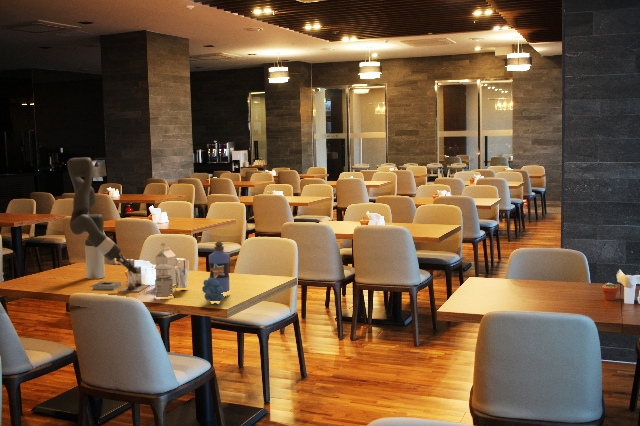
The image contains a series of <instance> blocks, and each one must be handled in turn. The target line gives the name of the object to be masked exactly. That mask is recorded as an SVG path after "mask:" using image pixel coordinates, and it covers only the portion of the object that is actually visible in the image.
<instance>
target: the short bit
mask: <svg viewBox="0 0 640 426" xmlns="http://www.w3.org/2000/svg"><path fill="white" fill-rule="evenodd" d="M135 269H136V270H137V272H136V273H135V286H142V284H143V282H142V279H143V277H142V266H135Z"/></svg>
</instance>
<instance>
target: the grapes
mask: <svg viewBox="0 0 640 426" xmlns="http://www.w3.org/2000/svg"><path fill="white" fill-rule="evenodd" d="M201 291H202V292H203V293H204V299H205V300H206V301H220V300H221V302H222V301H223V300H224V299H225V297H224V296H223V294H221V293H223V288H222V287H221V286H219V281H218V280H214V279H213V278H211V277H210V276H209V277H208V278H207V279H204V280H203V286H202V288H201Z"/></svg>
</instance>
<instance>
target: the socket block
mask: <svg viewBox="0 0 640 426" xmlns="http://www.w3.org/2000/svg"><path fill="white" fill-rule="evenodd" d="M92 285H93V287H92V290H93V291H95V290H96V291H97V290H98V291H114V290H116V289H119V288H120V287H121V286H122V281H107V280H106V281H103V280H102V281H99V282H97V283H94V284H92Z"/></svg>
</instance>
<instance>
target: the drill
mask: <svg viewBox="0 0 640 426" xmlns="http://www.w3.org/2000/svg"><path fill="white" fill-rule="evenodd" d="M127 260H128V261H129V263H130V264H131V265H132V266H133V267H134V268H135V267H136V266H135V258H129V259H127ZM126 272H127V275H126V276H127V286H128V290H134V289H135V274H133V273H132V272H131V271H130V270H129V269H127V271H126Z"/></svg>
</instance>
